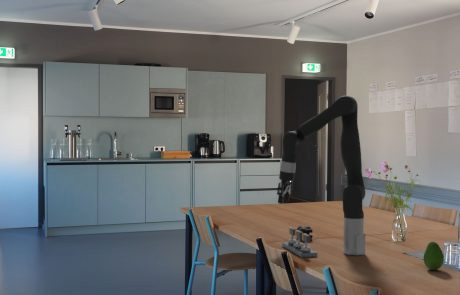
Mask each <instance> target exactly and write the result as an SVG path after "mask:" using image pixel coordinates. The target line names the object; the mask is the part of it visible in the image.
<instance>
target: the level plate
mask: <svg viewBox="0 0 460 295" xmlns="http://www.w3.org/2000/svg"><path fill="white" fill-rule="evenodd" d="M297 243H298V241H297ZM281 247H282V248H284V249H285V250H287V249H288V250H287V251H289V250H290V251H289V252H291V253H292V252H293V254H294V253H295V254H294V255H296V256H297V255H298V257H299V258H301V259H302V258H303V259H304V258H318V252H317V251H316V250H313V249H312V248H311V251H301V248H297V247H294V244H289V243H288V241H286V242H282V243H281Z"/></svg>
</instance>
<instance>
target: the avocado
mask: <svg viewBox="0 0 460 295" xmlns="http://www.w3.org/2000/svg"><path fill="white" fill-rule="evenodd" d="M425 248H426V249H425V251H424V253H423V262H424V265H425V267H426V268H427V269H428V270H431V271H435V270H439V269H440V268H441V267H442V266H443V264H444V262H445V261H444V260H445V256H444V253H443V251H442V248H441V247H440V245H439V243H437V242H435V241H430V242H429V243H428V244H427V246H426V247H425Z"/></svg>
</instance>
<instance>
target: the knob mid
mask: <svg viewBox="0 0 460 295" xmlns="http://www.w3.org/2000/svg"><path fill="white" fill-rule="evenodd" d="M302 234H303V232H301V231H299V230H297V229H296V230H295V235H294V237H295V238H297V242H298V243H295V244H294V247H297V248H301V247H302V246H305V242H304V243H303V242H301V240H302Z"/></svg>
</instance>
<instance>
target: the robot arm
mask: <svg viewBox="0 0 460 295" xmlns="http://www.w3.org/2000/svg"><path fill="white" fill-rule="evenodd" d="M358 105H359V104H358V102H357V100H356V99H355V98H354V97H353V96H349V95H342V96H341V95H340V97H338V98H337V99H336V100H335V101H334V102H333V103H331V105H329V106H328V107H327V108H325V109H324V110H323V111H321V112H320V113H318V114H316V115H315V116H313V117H311V118H310V119H308V120H306V121H305V122H303V123H302V124H300V125H299V127H298V128H296V129H295V130H293V131H287V132H285V133H284V135H283V139H282V152H283V153H282V158H281V159H282V160H281V164H280V169H279V176H278V177H279V178H278V179H279V180H281V182H278V185H277V191H276V195H277V196H278V198H277V203H278V204H283V200H284V202H287V203H288V202H289V201H290V195H291V194H292V193H293V188H294V187H293V186H294V180H295V176H296V175H295V174H296V168H297V157H298V153H297V151H296V146H297V145H299V144H300V143H302V142H303V141H304V140H306V139H307V138H308V137H310V136H312V135H314V134H315V133H317V132H319V131H321V130H322V129H323V128H324V127H325V126H326V125H328V124H329V123H330V122H332V121H333V120H335V119H337V118H340V117H341V122H342V123H341V124H342V129H341V136H340V152H341V159H342V163H343V165H344V169H345V173H346V178H347V179H346V181H347V185H346V186H345V187H344V189H343V190H342V212H343V254H344V255H348V256H362V255H363V256H364V255H366V234H365V233H364V231H365V229H364V228H365V226H364V223H365V220H364V219H365V213H364V211H363V200H364V199H365V197H366V188H365V183H364V179H363V171H362V170H363V168H362V164H363V162H362V148H361V141H360V133H359V127H358V126H359V125H358V111H359V110H358V108H359V107H358Z"/></svg>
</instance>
